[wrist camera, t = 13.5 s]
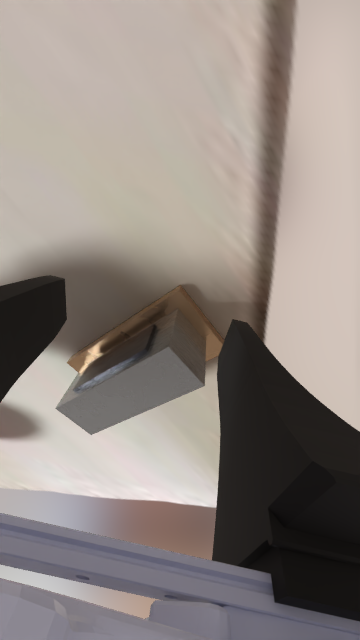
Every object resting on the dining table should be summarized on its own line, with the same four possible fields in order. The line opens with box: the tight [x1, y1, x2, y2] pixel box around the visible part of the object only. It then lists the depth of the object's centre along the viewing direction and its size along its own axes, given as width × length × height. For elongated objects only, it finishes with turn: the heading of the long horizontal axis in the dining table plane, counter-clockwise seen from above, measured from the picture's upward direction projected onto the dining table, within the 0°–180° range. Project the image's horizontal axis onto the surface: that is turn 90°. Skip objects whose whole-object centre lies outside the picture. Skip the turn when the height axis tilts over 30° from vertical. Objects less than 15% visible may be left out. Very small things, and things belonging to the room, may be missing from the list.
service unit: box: [56, 285, 224, 435], centre depth 21 cm, size 7×14×6 cm, turn 127°
